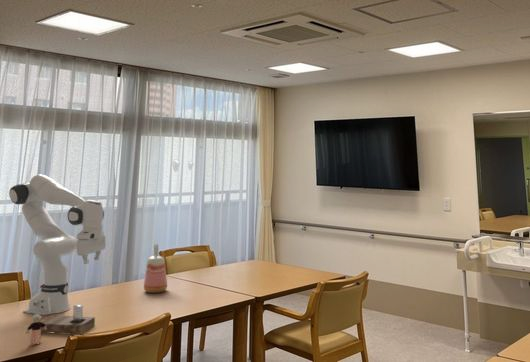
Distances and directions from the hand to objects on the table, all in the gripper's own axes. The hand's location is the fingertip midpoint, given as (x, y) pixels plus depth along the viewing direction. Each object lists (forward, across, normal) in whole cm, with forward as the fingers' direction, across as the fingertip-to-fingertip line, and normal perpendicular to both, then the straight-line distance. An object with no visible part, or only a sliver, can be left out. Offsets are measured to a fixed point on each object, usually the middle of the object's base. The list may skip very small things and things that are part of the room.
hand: (91, 261), depth 204 cm
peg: (+29, +9, 0) cm, 30 cm away
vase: (+30, -62, +9) cm, 69 cm away
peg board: (+30, +10, -5) cm, 32 cm away
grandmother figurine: (+30, +28, -7) cm, 42 cm away
